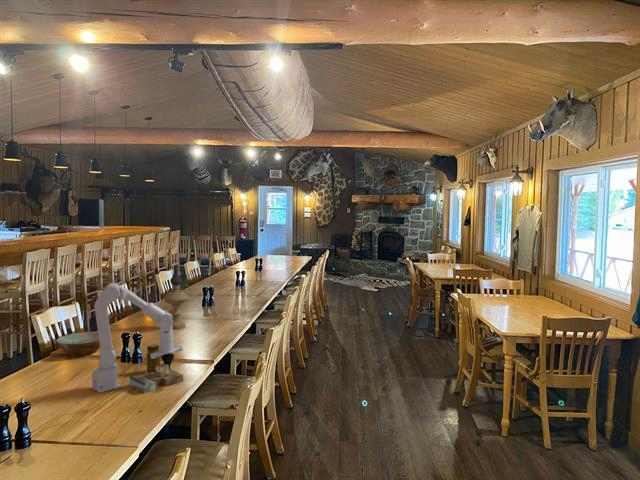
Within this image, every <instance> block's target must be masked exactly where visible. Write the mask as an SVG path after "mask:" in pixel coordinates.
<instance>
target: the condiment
mask: <svg viewBox="0 0 640 480" xmlns="http://www.w3.org/2000/svg"><path fill="white" fill-rule="evenodd" d="M146 348H147V349H146V351H147V352H146V370H145V372H144V374H148V373H152V372H154V373H156V368H155V366H158V365H160V364H161V357H156V358H154V359H152V358H151V353H154V352H156V351H159V350H160V344H159V345H158V344H149V345H148V346H147V347H146ZM144 374H143V375H144Z"/></svg>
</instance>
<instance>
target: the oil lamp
mask: <svg viewBox="0 0 640 480" xmlns="http://www.w3.org/2000/svg"><path fill="white" fill-rule="evenodd" d="M178 266H179V265H177V264H175V265H173V273H172V276H171V279H170V280H169V281H170V284H171V286H172V290H171V291H169V292H168V293H167V294H166V295H165V296H164V297H163V299H164V301H165V303H167V304H169V305H171V306H172V307H173V310H172V312H171V316H172V319H173V324H172V326H173V327H172V329H173V331H175V330H176V331H179V330H184V329H185V328H186V323H185V321H183V320H182V319H181V315H182V311H181V310H180V306H181V305H182V304H184V303H186V302H187V301H188V299H189V296H188V295H187V294H186V293H185V292H184V291H183V288H180V284H181V283H182V278H181V277H180V275H179V269H178Z"/></svg>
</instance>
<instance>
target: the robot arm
mask: <svg viewBox="0 0 640 480" xmlns="http://www.w3.org/2000/svg"><path fill="white" fill-rule="evenodd" d="M118 299H119V301H128V302H129V303H131V304H133V305H135V307H136V306H137V307H139V309H140V310H142V312H143V314H144V315H145V316H147V317H148V318H150V319H151V320H153V321H154V322H157V323H158V325H159V329H158V330H159V331H158V333H159V334H158V335H159V351H156V352H154V353H151V358H152V359H154V358H156V357H160V359H161V360H162V361H163V363H165V364H167V365H168V366H169V371H170V370H171V365H172V364H171V363H172V362H173V360H174V357H175V354H174V353H177V352H184V350H183V346H182V345H179V346H174V330H173V329H172V327H173V326H172V324H173V315H172V313H170V312H169V311H167V310H166V309H162V308H161V307H159V306H158V304H157V303H156V302H154V303H153V302H147V301H145V300H144V299H142V298H141V297H139V296H138V295H136V294H135V293H134V292H132V291H131V290H130V289H128V288H126V287H125V286H121V285H120V284H119V283H117V282H110V283H108V284H106V286H104V287H103V288H102V289H101V292H100V294H99V296H98V298H97V299H96V301H95V303H94V306H93V307H94V312H95V320H96V328H97V332H98V335H99V343H100V348H99V355H100V357H99V359H98V367H97V368H96V369H94V370H92V372H91V384H92V385H91V389H93V390H94V391H96V392H97V393H101V394H102V393H104V392H108V391H111V390H114V389H118V388H121V387H122V384H119V382H118V364H117V363H116V358H117V352H116V351H115V349H114V346H113V345H114V344H113V342H112V335H111V328H110V321H109V314H108V313H109V312H108V307H109V306H110V304H111V303H113V302H115V301H116V300H118Z"/></svg>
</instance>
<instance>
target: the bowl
mask: <svg viewBox="0 0 640 480" xmlns="http://www.w3.org/2000/svg"><path fill="white" fill-rule="evenodd" d="M55 342H56V344H57V345H58V346H59V347H60V348H61V349H62V350H63V351H64V352H66V353H68V354H70V355H72V356H73V355H74V356H85V354H87V355H91V354H93V353H95V352H96V351H98V350H100V343H99V335H98V331H96V330H95V331H81V332H74V333H73V332H72V333H70V334H68V333H67V334H64V335H62V336H60V337H58V338H56V339H55Z"/></svg>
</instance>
